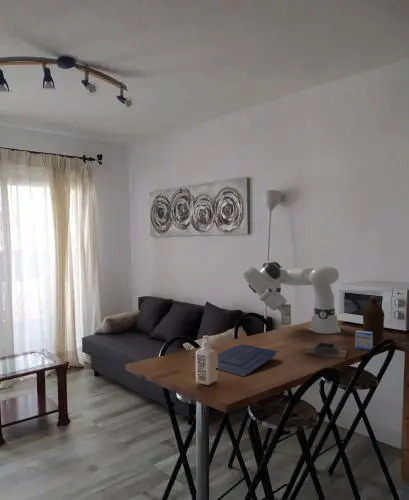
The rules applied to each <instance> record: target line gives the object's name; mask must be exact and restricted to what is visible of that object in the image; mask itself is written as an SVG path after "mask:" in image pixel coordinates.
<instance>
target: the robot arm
mask: <svg viewBox="0 0 409 500" xmlns="http://www.w3.org/2000/svg"><path fill="white" fill-rule="evenodd" d="M281 268H283V266H281V265H280V263H278V262H277V261H275V260H268V261H265V262H264V263H263V264H262V268H261V269H260V270H259V269H257V268H256V267H254V266H251V267H250V268H249V269H248V270H247V271H246V272H244V274H243V278H244V279H245V281H246V282H247V284H248V288H249V289H250V290H251V291H253V293H254V294H257V295H258V296H259V300H260V301H261V302H263V303H264V304H265V305H266V306H267V307H268V308H269V309H270V310H272V311H276V310H278V311H279V312H280V313H281V312H282V313H283V314H284V315H285V314H286V313H287V311H286V310H284V309H283V308H282V306H281V305H282V304H287V302H288V300H287V299H286V297H284V295H282V294H281V290H282V287H281V284H282V285H284V286H285V285H286V286H312V288H313V292H314V309H313V313H314V314H313V315H312V316H311V327H308V331H311V332H314V333H318V334H325V335H326V334H328V335H329V334H340V333H342V331H341V327H340V326H339V323H338V318H337V317H336V315H335V314H336V309H335V295H334V293H333V291H332V286H331V285H332V284H333V285H334V283H336V282H337V280H338V279H339V277H340V275H339V271H338V269H337V268H335V267H332V266H313V267H295V268H294V267H293V268H286V269H281Z"/></svg>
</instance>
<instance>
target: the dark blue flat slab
mask: <svg viewBox="0 0 409 500" xmlns="http://www.w3.org/2000/svg"><path fill="white" fill-rule="evenodd" d="M278 352H279V351H278V350H273V349H268V348H261V347H257V346H254V345H248V344H243V343H242V344H239V345H235V346H232V347H230V348H228V349H225V350H223V351H222V352H220V353H218V354H217V355H218V369H217V370H219V371H224V372H227V373H229V374H230V373H231V374H233V375H238V376H241V377H245V376H247V375H248V374H250V373H251V372H253V371H255V369H257V368H260V367H261V366H262V365H264V364H265V363H266V362H268V361H270V360H271V359H273V358H274V357H275V356H276V355H277V353H278Z"/></svg>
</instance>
